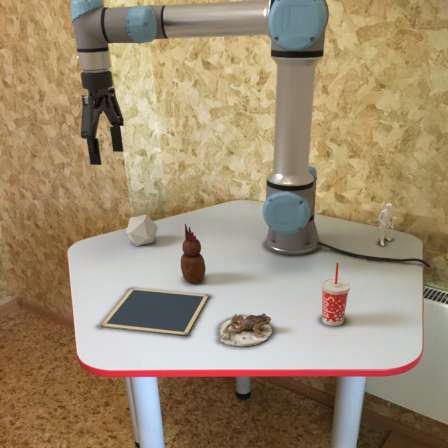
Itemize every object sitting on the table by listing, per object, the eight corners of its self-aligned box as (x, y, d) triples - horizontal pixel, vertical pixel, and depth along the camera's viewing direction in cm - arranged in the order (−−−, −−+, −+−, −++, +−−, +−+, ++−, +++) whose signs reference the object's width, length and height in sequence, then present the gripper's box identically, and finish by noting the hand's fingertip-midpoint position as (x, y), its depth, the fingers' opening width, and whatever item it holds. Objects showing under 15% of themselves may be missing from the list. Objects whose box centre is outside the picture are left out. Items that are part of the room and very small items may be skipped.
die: (153, 236, 165) (131, 212, 162) (168, 230, 158) (146, 204, 155) (137, 255, 161) (114, 230, 157) (152, 248, 154) (128, 222, 150)
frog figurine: (269, 315, 121) (270, 301, 119) (275, 345, 110) (275, 330, 108) (219, 317, 121) (218, 302, 119) (219, 347, 110) (219, 331, 108)
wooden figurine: (178, 277, 139) (174, 223, 132) (199, 272, 141) (196, 219, 134) (187, 288, 133) (183, 232, 126) (209, 283, 135) (206, 228, 128)
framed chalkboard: (208, 296, 130) (208, 294, 129) (186, 336, 114) (186, 334, 114) (131, 289, 134) (131, 287, 134) (101, 326, 119) (100, 325, 118)
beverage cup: (313, 316, 120) (317, 260, 113) (337, 311, 122) (342, 255, 115) (327, 330, 115) (332, 271, 108) (352, 324, 117) (358, 266, 110)
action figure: (381, 246, 153) (386, 206, 147) (372, 242, 155) (376, 202, 149) (397, 241, 156) (402, 201, 150) (387, 237, 158) (392, 198, 152)
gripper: (103, 65, 142) (114, 146, 152) (55, 77, 121) (71, 170, 131) (130, 65, 140) (138, 146, 150) (86, 77, 119) (99, 171, 129)
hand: (107, 157), depth 141 cm, fingers open, 13 cm apart
